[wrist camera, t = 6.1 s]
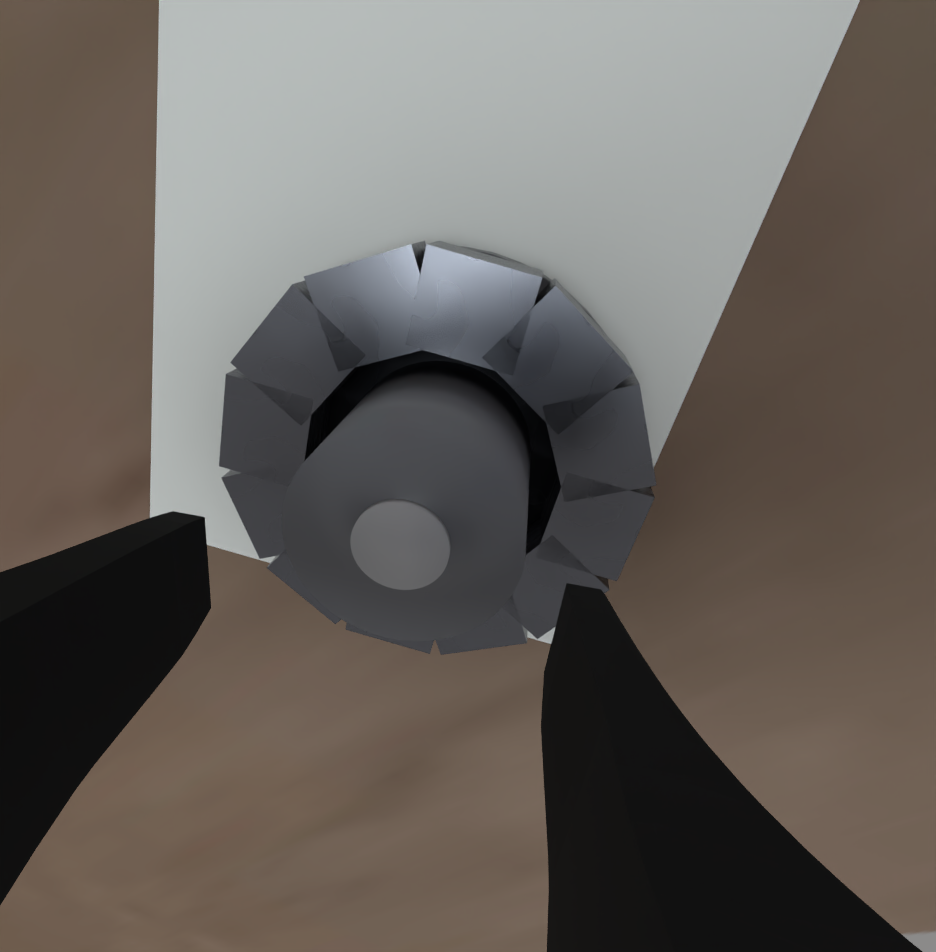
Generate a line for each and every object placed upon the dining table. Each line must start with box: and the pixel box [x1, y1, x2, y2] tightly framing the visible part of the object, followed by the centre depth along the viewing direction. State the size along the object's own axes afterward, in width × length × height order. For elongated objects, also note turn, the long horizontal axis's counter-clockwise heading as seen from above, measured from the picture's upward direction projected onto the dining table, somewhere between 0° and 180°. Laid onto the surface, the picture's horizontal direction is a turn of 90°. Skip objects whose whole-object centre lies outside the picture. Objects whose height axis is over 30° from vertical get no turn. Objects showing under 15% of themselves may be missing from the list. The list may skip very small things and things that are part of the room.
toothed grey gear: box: [219, 241, 656, 655], centre depth 16 cm, size 11×11×3 cm
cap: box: [282, 361, 531, 641], centre depth 14 cm, size 5×5×5 cm
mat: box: [150, 0, 860, 644], centre depth 15 cm, size 15×24×1 cm, turn 166°
